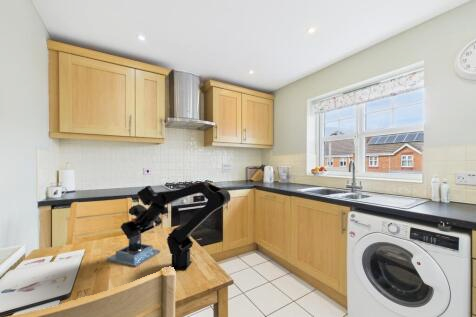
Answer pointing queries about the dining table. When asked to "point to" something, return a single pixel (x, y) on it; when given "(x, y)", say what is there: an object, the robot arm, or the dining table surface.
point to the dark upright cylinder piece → (135, 241)
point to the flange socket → (134, 256)
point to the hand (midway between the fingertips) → (132, 236)
